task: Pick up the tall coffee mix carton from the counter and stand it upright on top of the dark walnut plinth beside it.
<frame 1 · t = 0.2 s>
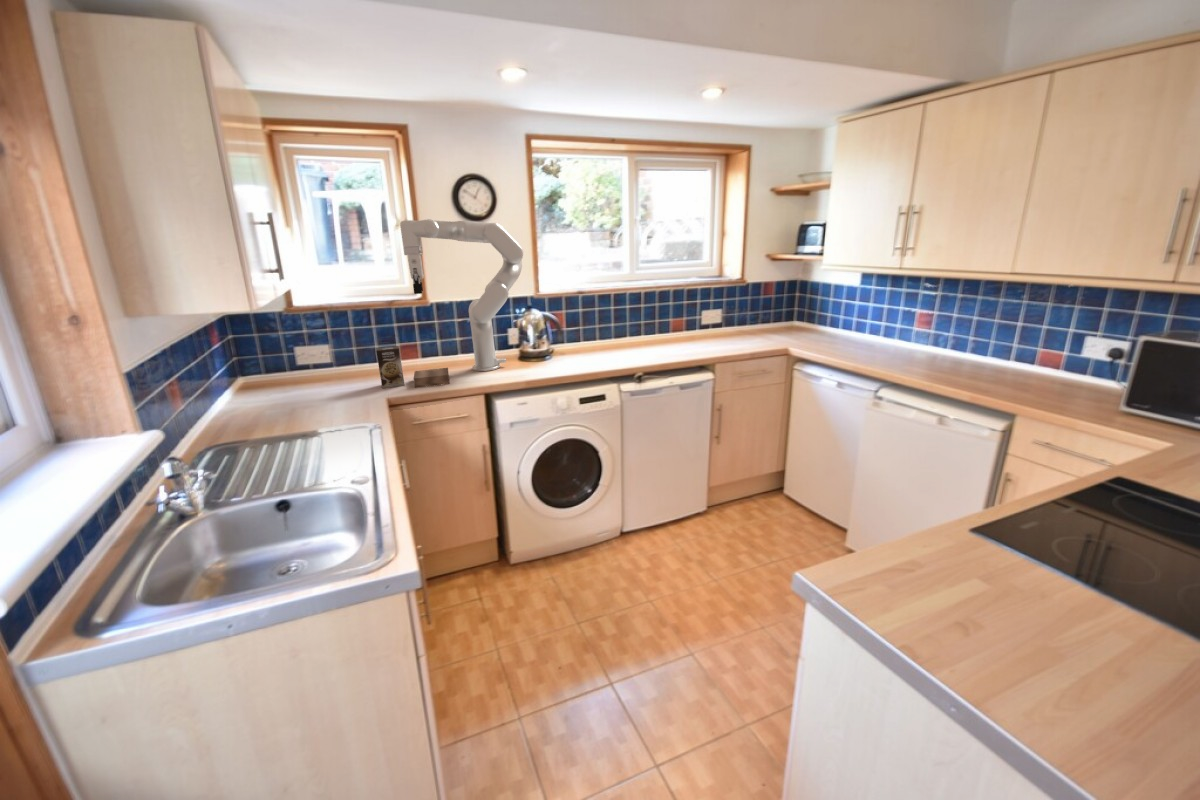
hand: (418, 292, 228), 37 cm above the worktop, tool pointing down, fingers open, 9 cm apart
walnut plinth: (432, 381, 227), on the worktop
coffee box: (393, 385, 225), on the worktop
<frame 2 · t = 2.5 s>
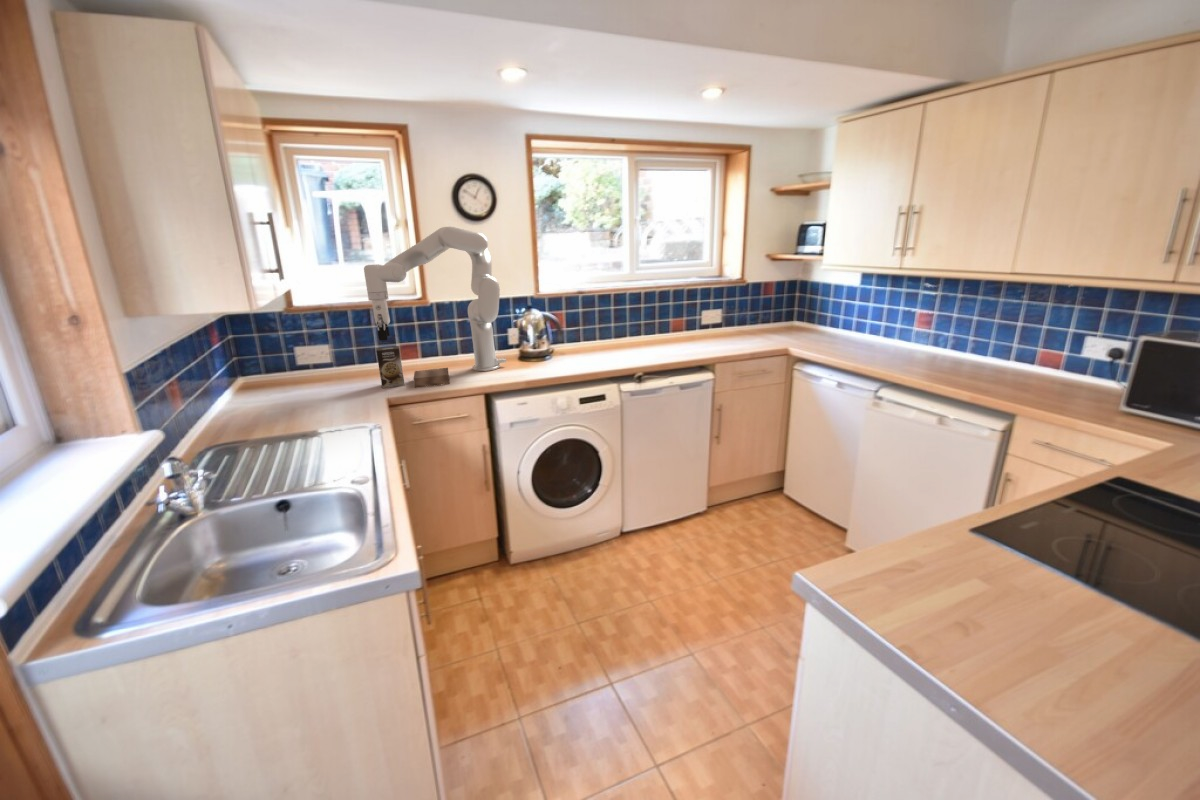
hand: (384, 338, 218), 20 cm above the worktop, tool pointing down, fingers open, 9 cm apart
nothing on the worktop moved.
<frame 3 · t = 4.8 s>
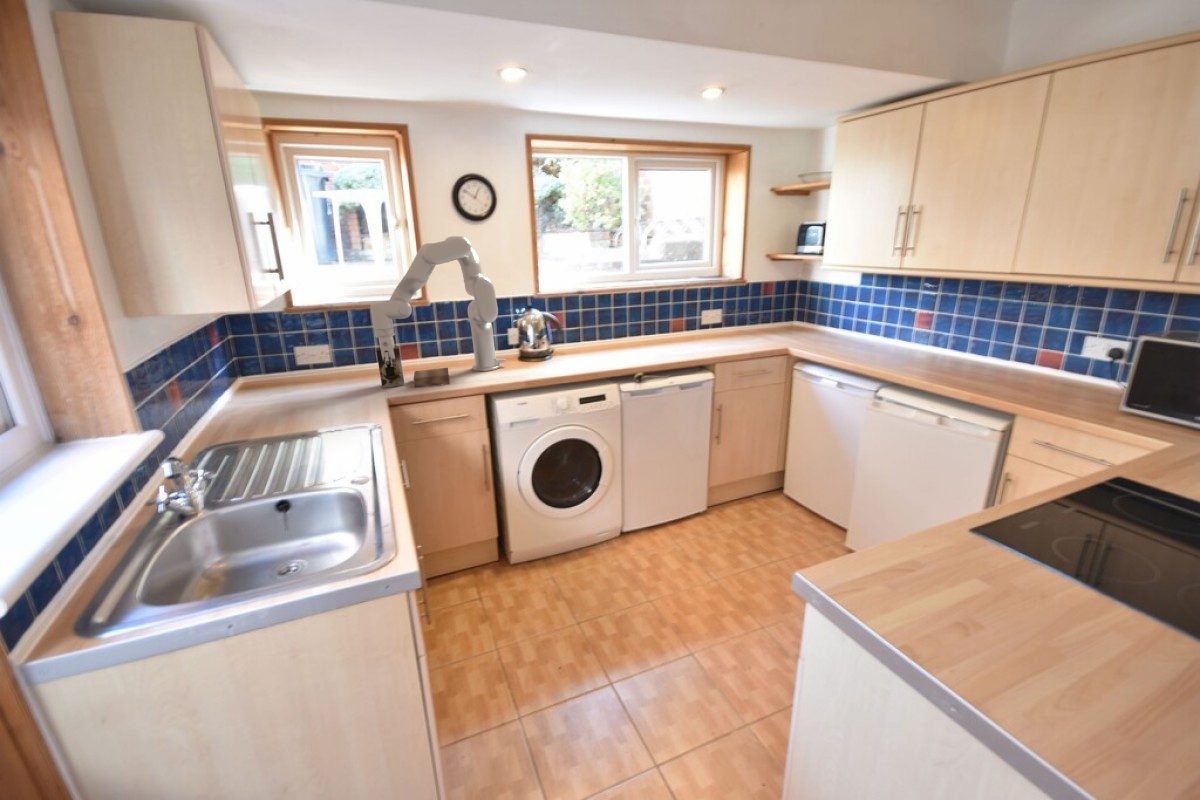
hand: (391, 373, 223), 5 cm above the worktop, tool pointing down, fingers closed on coffee box, 6 cm apart
coffee box: (393, 385, 225), on the worktop, touching gripper
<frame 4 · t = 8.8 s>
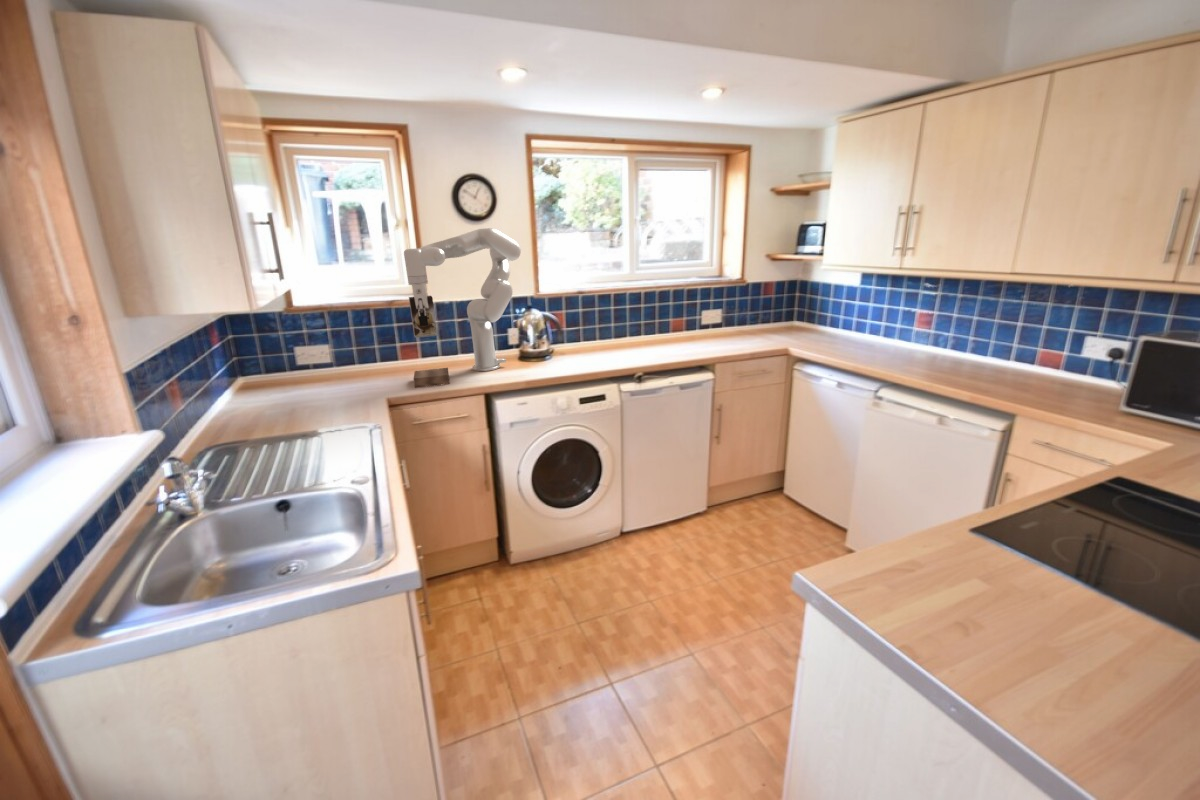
hand: (424, 323, 219), 25 cm above the worktop, tool pointing down, fingers closed on coffee box, 6 cm apart
coffee box: (426, 336, 221), point 20 cm above the worktop, touching gripper
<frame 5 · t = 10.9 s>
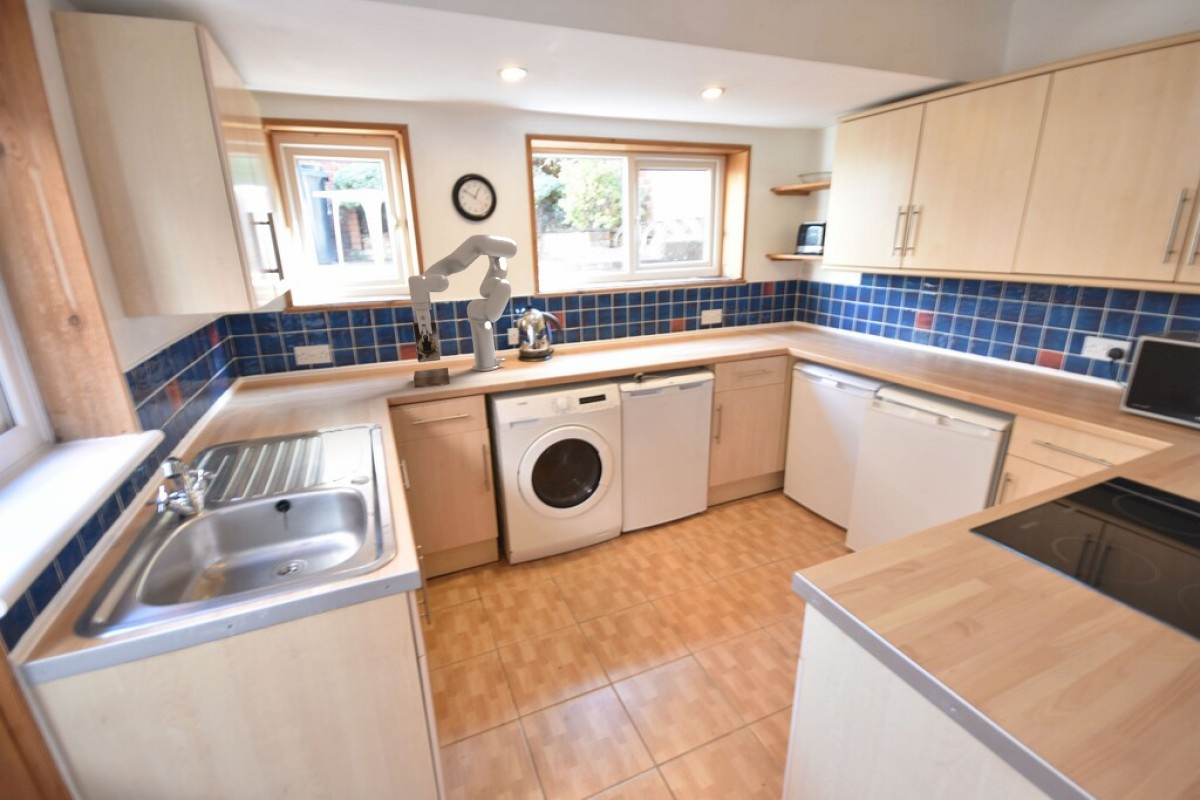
hand: (427, 348, 222), 15 cm above the worktop, tool pointing down, fingers closed on coffee box, 6 cm apart
coffee box: (429, 360, 224), point 9 cm above the worktop, touching gripper
when the fingers open (10 cm above the worktop, at t = 13.0 s): coffee box drops 1 cm, resting on walnut plinth.
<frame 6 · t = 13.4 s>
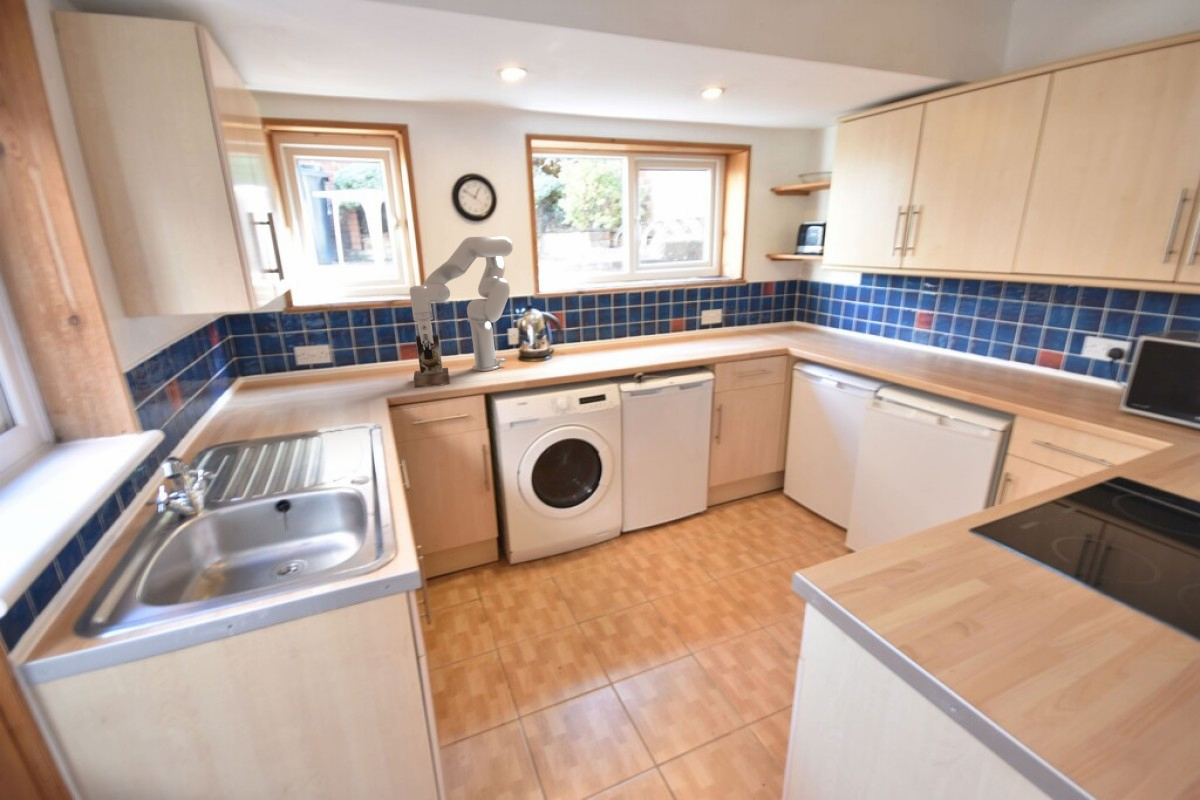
hand: (428, 356, 224), 11 cm above the worktop, tool pointing down, fingers open, 9 cm apart
coffee box: (431, 373, 226), point 4 cm above the worktop, touching walnut plinth
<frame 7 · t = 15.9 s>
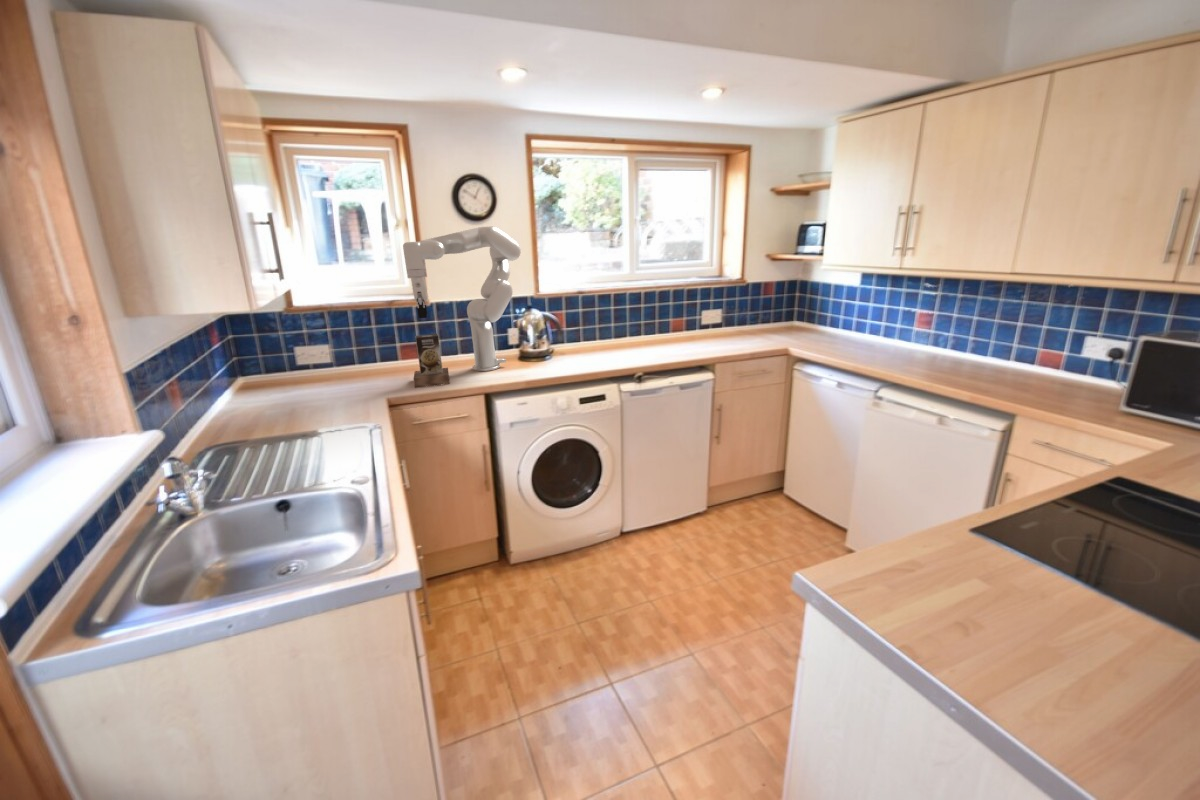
hand: (423, 316, 218), 28 cm above the worktop, tool pointing down, fingers open, 9 cm apart
nothing on the worktop moved.
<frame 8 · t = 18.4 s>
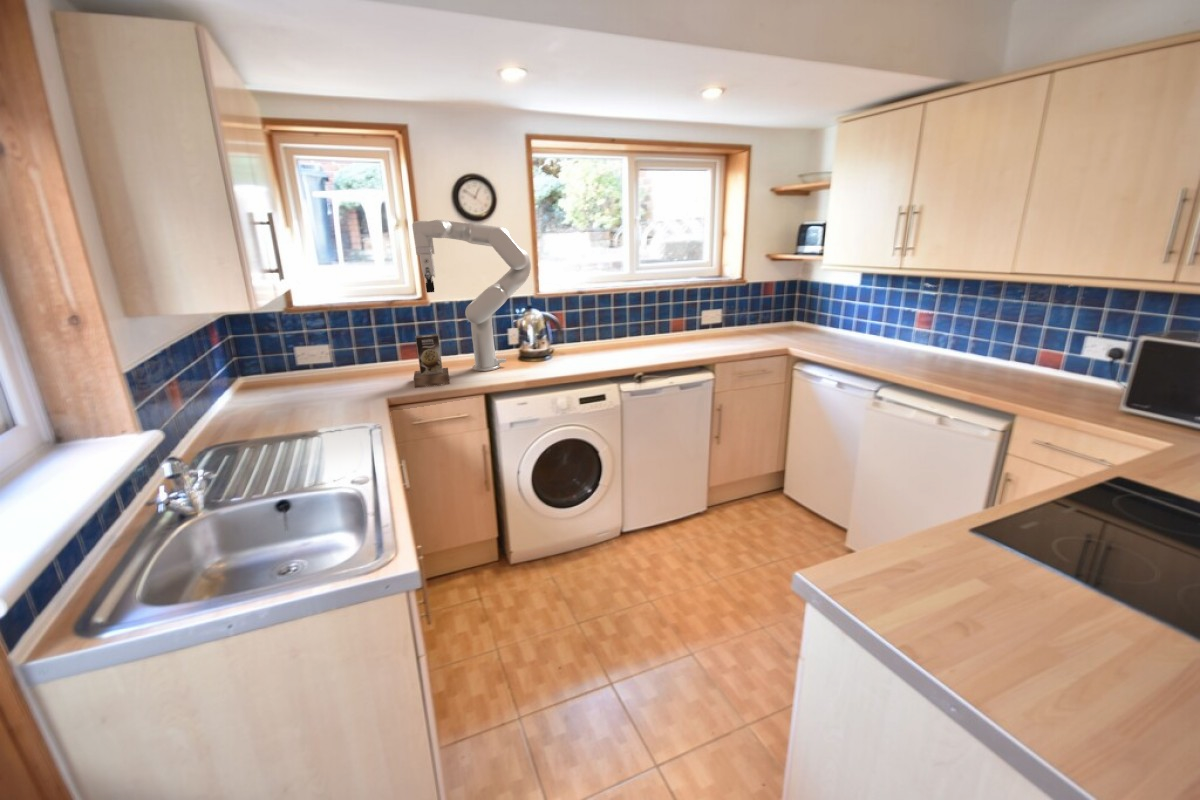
hand: (430, 291, 234), 36 cm above the worktop, tool pointing down, fingers open, 9 cm apart
nothing on the worktop moved.
at the end: coffee box inside the target area on the walnut plinth (0.2 cm from its centre), point 3.8 cm above the walnut plinth's base; coffee box tilted 0°; the gripper is holding nothing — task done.
